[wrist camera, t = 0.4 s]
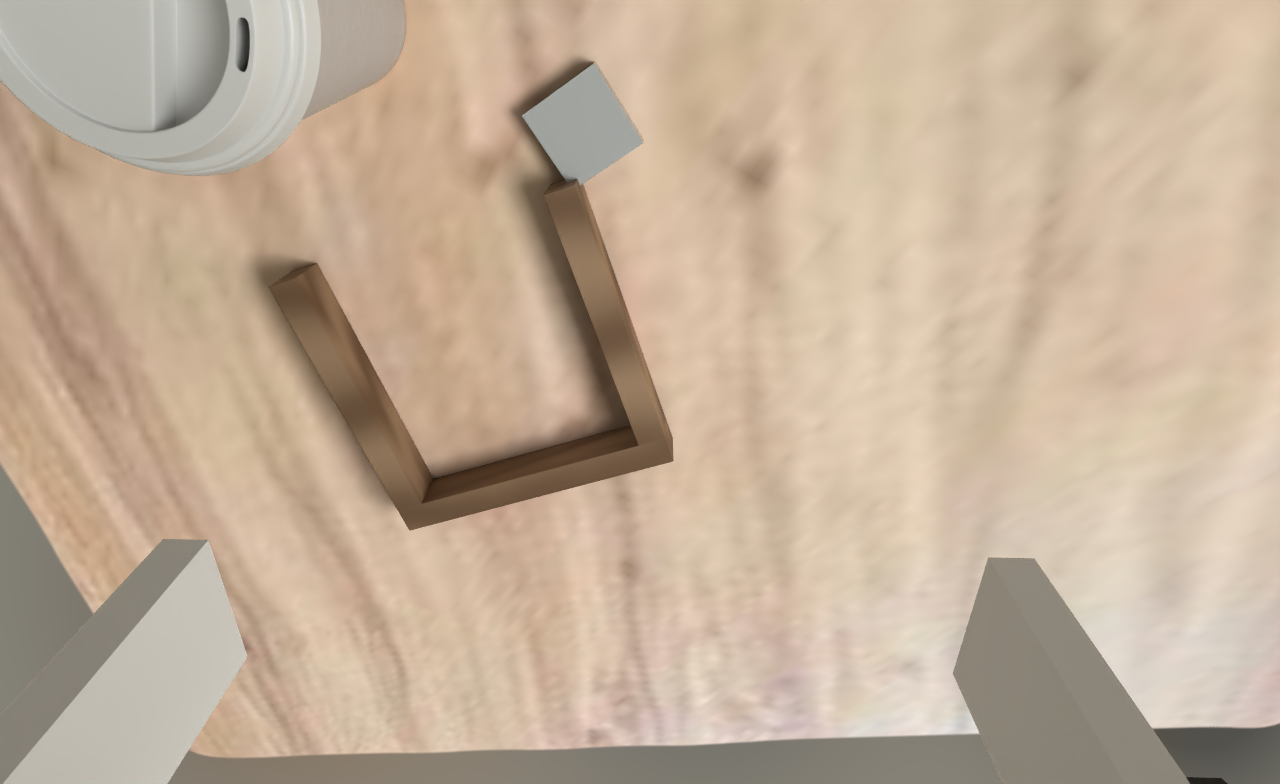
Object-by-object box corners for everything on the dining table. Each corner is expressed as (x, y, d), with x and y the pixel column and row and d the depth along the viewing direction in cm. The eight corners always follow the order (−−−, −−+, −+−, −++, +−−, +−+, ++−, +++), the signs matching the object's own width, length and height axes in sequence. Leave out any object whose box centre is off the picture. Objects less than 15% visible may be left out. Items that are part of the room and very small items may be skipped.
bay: (291, 271, 38) (268, 287, 35) (579, 175, 35) (574, 185, 33) (422, 505, 44) (409, 530, 42) (672, 437, 42) (673, 461, 39)
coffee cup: (374, 167, 35) (200, 255, 22) (188, 30, 33) (-138, 34, 19) (482, -8, 32) (353, -32, 18) (282, -177, 29) (-36, -349, 16)
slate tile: (525, 113, 34) (521, 115, 33) (595, 62, 33) (593, 63, 32) (574, 186, 35) (572, 190, 34) (643, 139, 34) (643, 142, 33)
